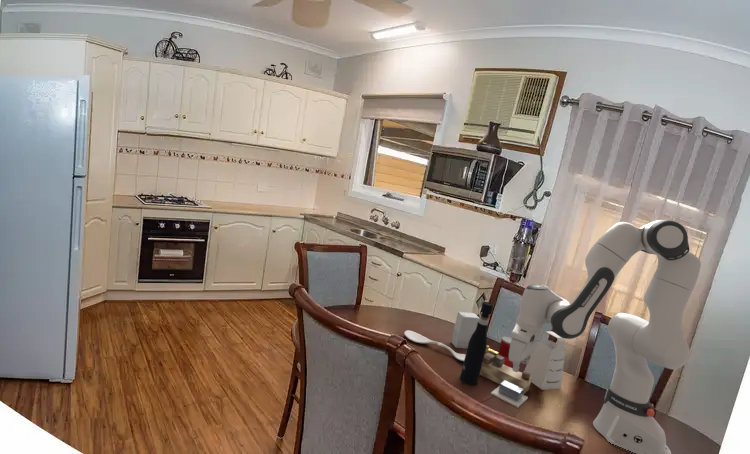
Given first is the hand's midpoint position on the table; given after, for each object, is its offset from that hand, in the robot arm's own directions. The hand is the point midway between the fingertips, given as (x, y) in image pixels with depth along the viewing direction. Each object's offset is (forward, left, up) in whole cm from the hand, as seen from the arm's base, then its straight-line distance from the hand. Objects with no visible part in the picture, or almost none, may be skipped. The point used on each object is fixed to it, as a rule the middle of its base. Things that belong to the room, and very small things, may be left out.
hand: (520, 367), depth 152 cm
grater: (-3, -25, -12) cm, 28 cm away
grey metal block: (+1, 0, -11) cm, 11 cm away
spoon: (+36, -9, -12) cm, 39 cm away
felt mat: (+1, 0, -12) cm, 12 cm away
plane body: (+7, -9, -12) cm, 16 cm away
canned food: (+12, -25, -12) cm, 30 cm away
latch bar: (+14, -9, -3) cm, 17 cm away
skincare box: (+32, -24, -12) cm, 42 cm away
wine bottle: (+15, +4, -12) cm, 20 cm away
